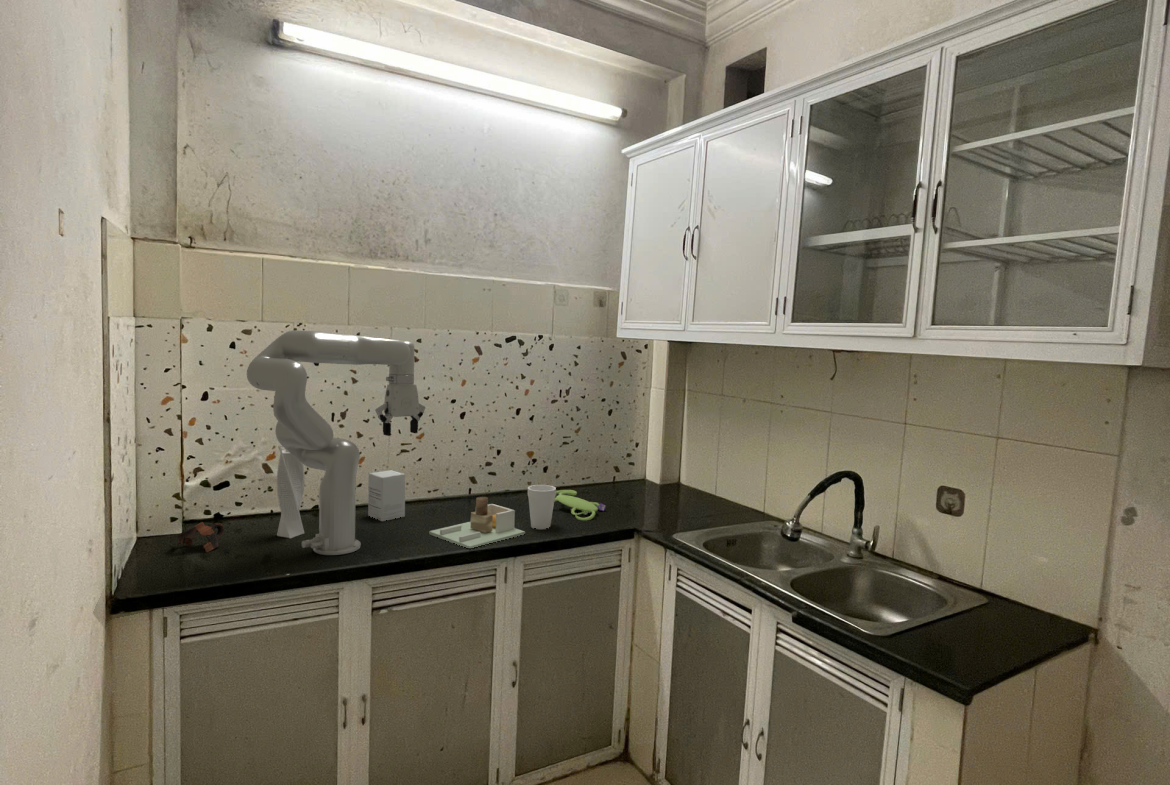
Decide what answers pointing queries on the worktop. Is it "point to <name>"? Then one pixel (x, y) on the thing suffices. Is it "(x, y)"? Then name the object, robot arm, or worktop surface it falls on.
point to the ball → (494, 521)
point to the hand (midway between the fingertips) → (400, 434)
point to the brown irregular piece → (204, 531)
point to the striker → (481, 516)
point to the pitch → (475, 538)
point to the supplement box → (386, 495)
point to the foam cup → (541, 505)
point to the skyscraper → (290, 494)
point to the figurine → (578, 504)
